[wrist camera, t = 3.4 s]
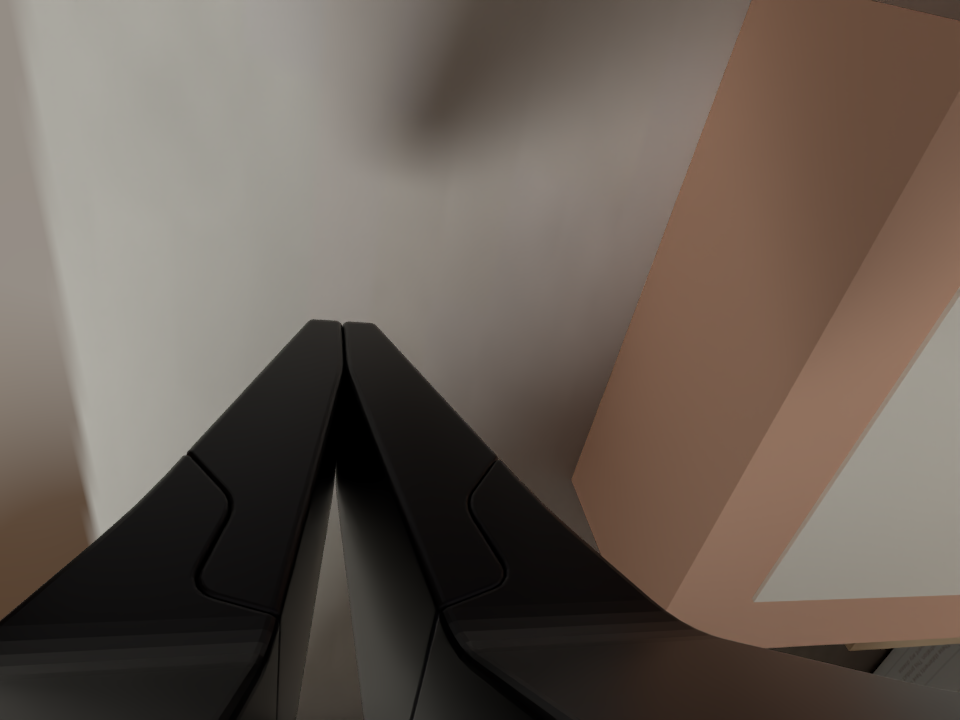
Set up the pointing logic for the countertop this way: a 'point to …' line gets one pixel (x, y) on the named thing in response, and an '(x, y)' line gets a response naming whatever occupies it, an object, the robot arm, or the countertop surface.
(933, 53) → the carton
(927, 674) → the supplement box
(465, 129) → the countertop surface
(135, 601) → the robot arm
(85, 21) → the countertop surface
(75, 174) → the countertop surface
